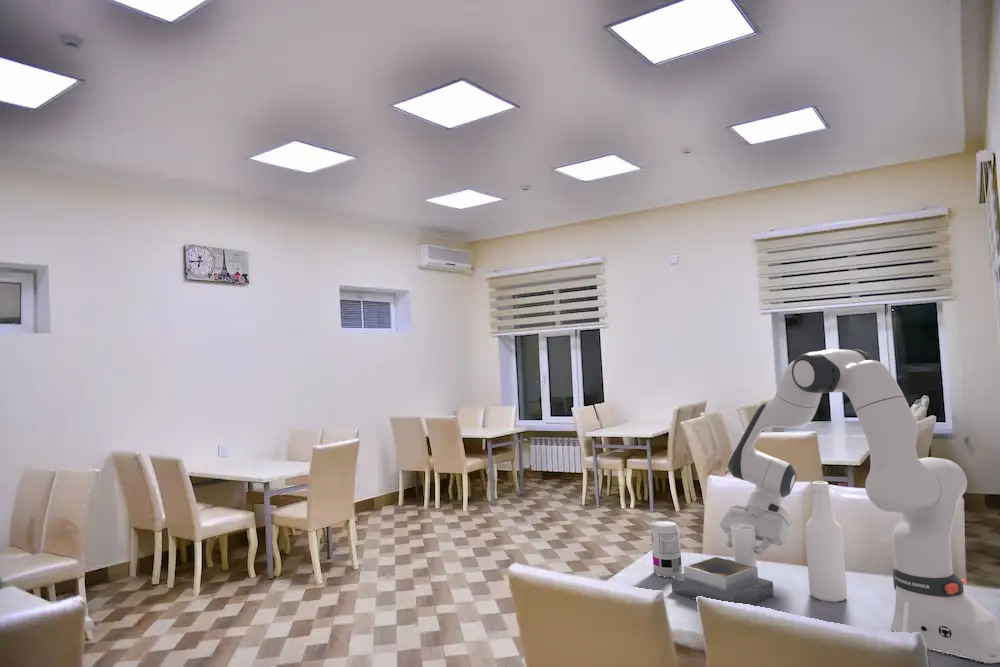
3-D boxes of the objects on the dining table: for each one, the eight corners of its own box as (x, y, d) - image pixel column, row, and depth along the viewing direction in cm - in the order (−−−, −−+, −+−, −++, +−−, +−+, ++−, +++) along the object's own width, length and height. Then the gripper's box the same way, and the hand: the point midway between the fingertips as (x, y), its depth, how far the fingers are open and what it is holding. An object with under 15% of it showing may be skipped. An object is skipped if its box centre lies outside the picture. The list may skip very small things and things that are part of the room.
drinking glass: (762, 582, 183) (759, 529, 183) (738, 583, 183) (735, 530, 183) (753, 574, 189) (750, 523, 190) (730, 575, 189) (727, 524, 190)
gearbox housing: (773, 596, 172) (771, 568, 172) (733, 613, 162) (731, 583, 162) (711, 578, 188) (710, 552, 189) (672, 592, 179) (670, 564, 179)
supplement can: (648, 575, 194) (645, 524, 194) (662, 567, 200) (659, 518, 200) (673, 580, 188) (670, 528, 189) (686, 572, 194) (683, 522, 195)
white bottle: (830, 605, 164) (821, 486, 165) (802, 594, 172) (794, 481, 174) (855, 598, 167) (846, 482, 169) (826, 588, 176) (818, 477, 177)
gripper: (726, 498, 199) (708, 536, 194) (787, 509, 182) (769, 551, 176) (736, 510, 202) (718, 548, 196) (797, 522, 185) (780, 564, 179)
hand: (743, 549), depth 186 cm, fingers open, 8 cm apart
